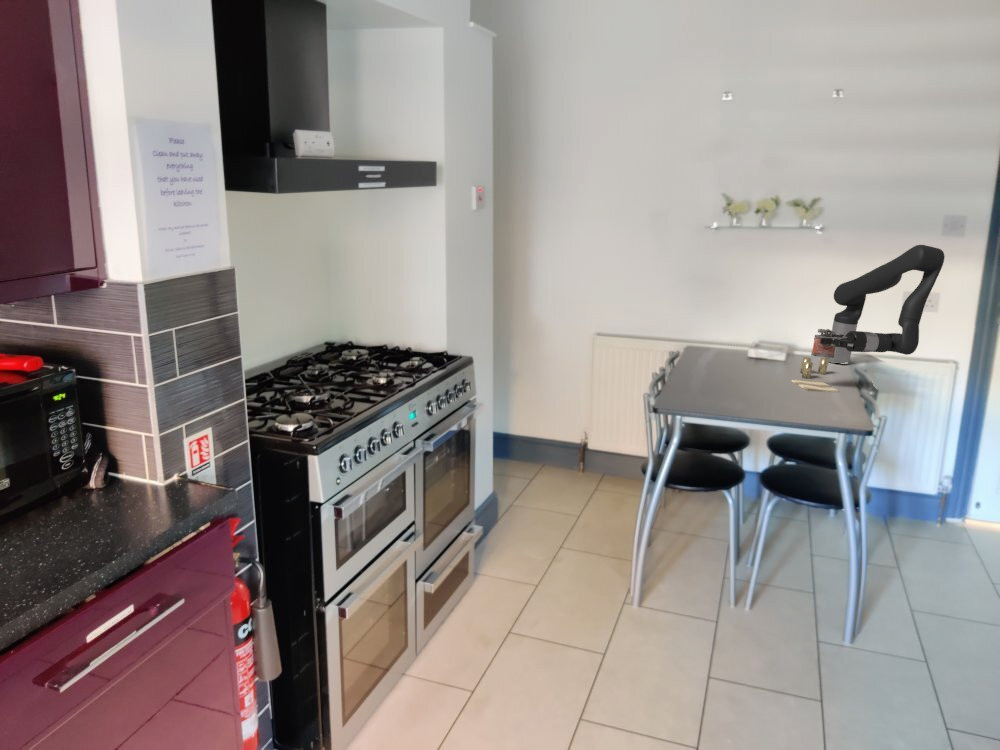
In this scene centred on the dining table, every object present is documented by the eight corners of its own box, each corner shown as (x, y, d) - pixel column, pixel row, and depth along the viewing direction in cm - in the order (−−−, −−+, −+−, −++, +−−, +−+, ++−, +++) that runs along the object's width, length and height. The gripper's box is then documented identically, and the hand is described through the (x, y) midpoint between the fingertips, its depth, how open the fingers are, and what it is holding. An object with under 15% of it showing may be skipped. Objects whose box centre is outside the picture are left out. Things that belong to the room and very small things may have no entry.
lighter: (831, 356, 299) (837, 329, 296) (835, 358, 295) (840, 331, 293) (809, 354, 299) (814, 327, 296) (812, 356, 295) (818, 329, 293)
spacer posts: (790, 370, 321) (793, 355, 319) (823, 372, 323) (826, 357, 321) (804, 378, 310) (807, 363, 309) (838, 380, 312) (841, 365, 311)
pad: (791, 381, 305) (791, 379, 305) (821, 382, 307) (821, 381, 306) (807, 390, 293) (807, 389, 293) (838, 392, 295) (838, 390, 295)
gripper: (852, 327, 303) (809, 324, 301) (875, 336, 290) (830, 334, 287) (848, 346, 305) (806, 344, 303) (870, 356, 292) (826, 354, 289)
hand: (818, 339), depth 295 cm, fingers closed on lighter, 3 cm apart
